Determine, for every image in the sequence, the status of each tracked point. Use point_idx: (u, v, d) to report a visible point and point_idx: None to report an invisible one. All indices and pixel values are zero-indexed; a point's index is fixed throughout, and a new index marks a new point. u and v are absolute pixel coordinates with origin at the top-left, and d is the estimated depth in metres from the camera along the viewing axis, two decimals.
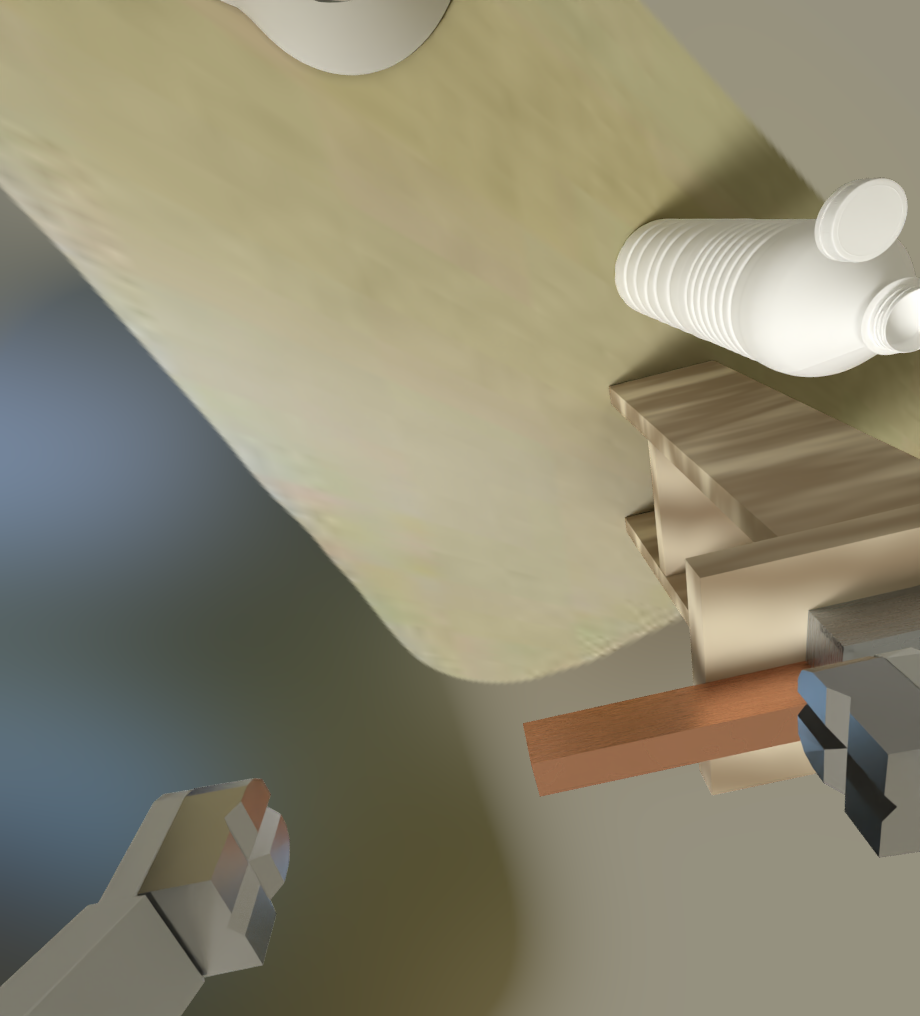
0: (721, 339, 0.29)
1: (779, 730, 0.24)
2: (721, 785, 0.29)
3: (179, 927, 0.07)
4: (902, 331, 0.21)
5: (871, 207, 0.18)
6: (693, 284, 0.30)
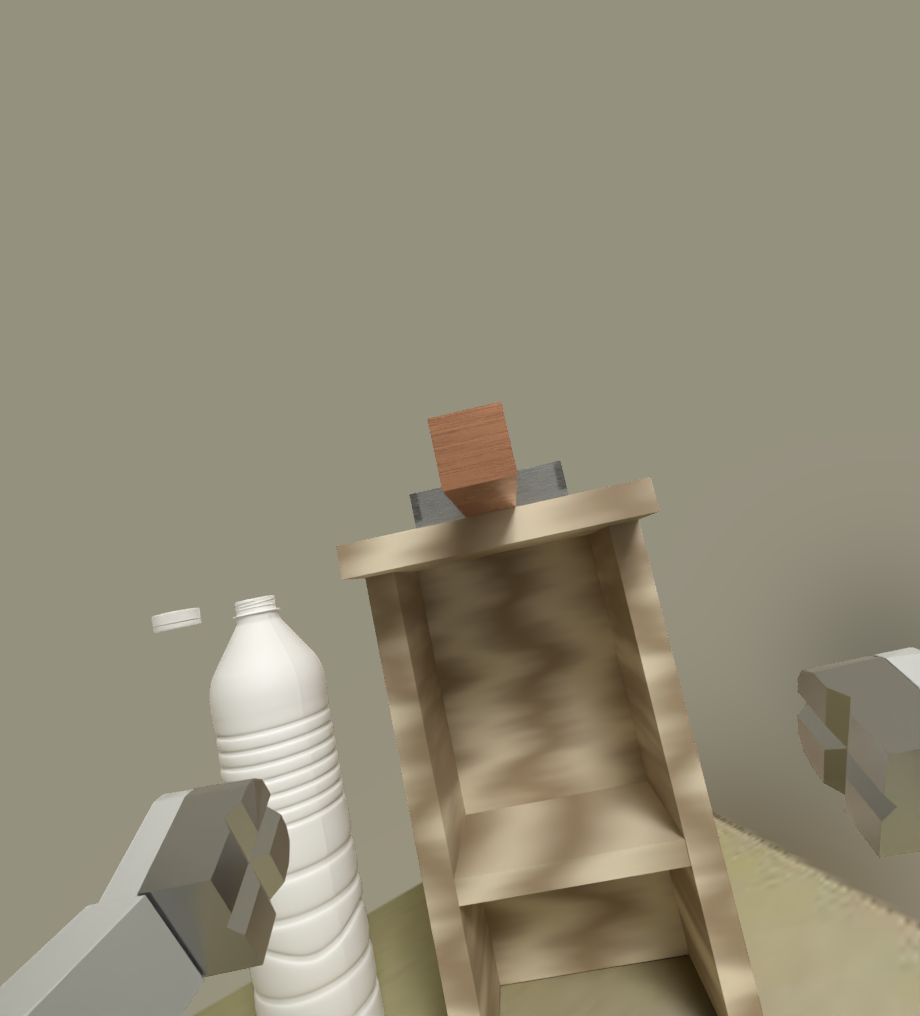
0: (288, 762, 0.30)
1: None
2: None
3: (179, 927, 0.07)
4: None
5: None
6: None
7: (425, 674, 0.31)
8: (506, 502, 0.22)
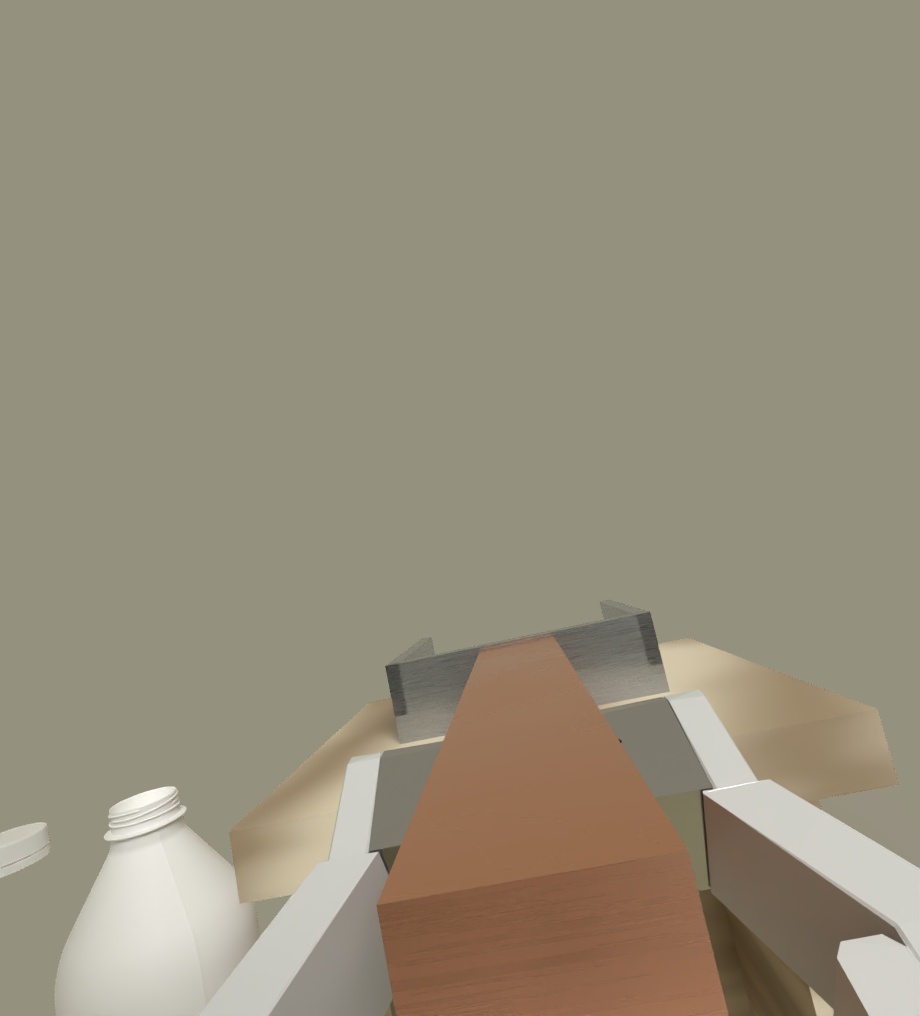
0: None
1: (523, 653, 0.14)
2: (831, 709, 0.12)
3: None
4: None
5: None
6: None
7: None
8: None
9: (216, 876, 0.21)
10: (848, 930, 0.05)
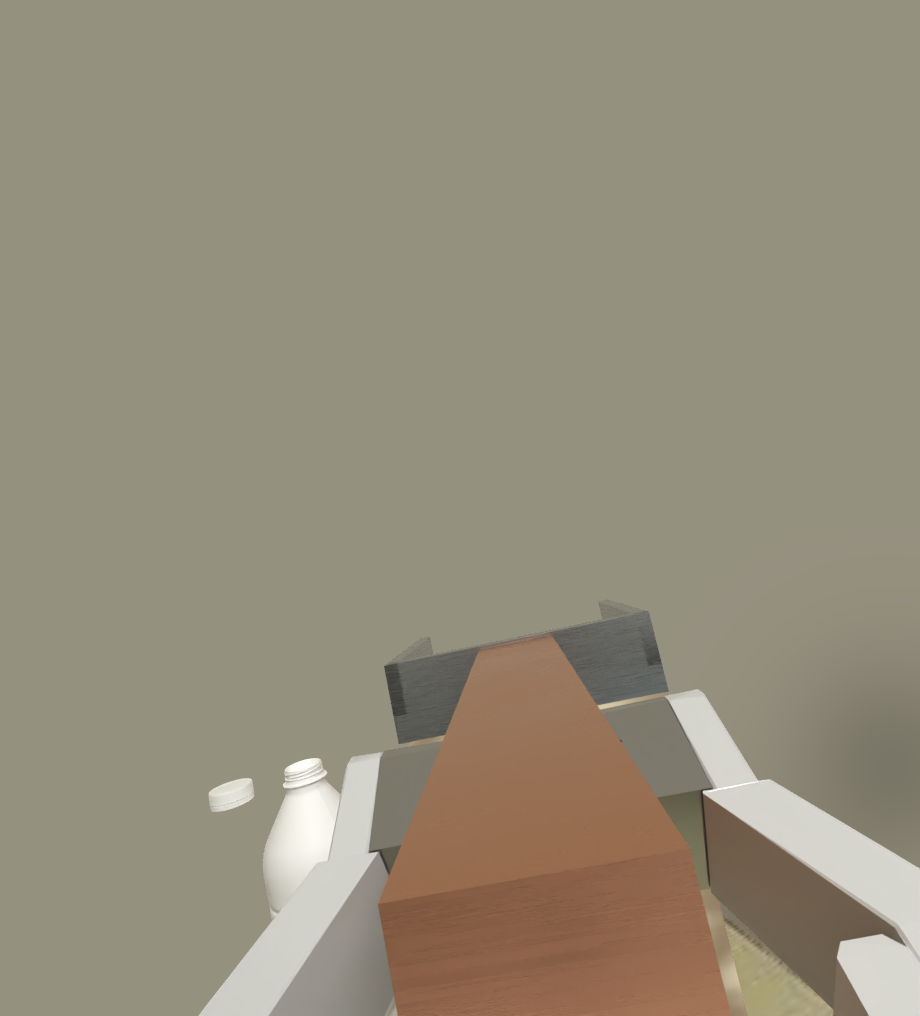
0: None
1: (522, 653, 0.14)
2: None
3: None
4: None
5: (223, 787, 0.34)
6: None
7: None
8: None
9: None
10: (848, 930, 0.05)
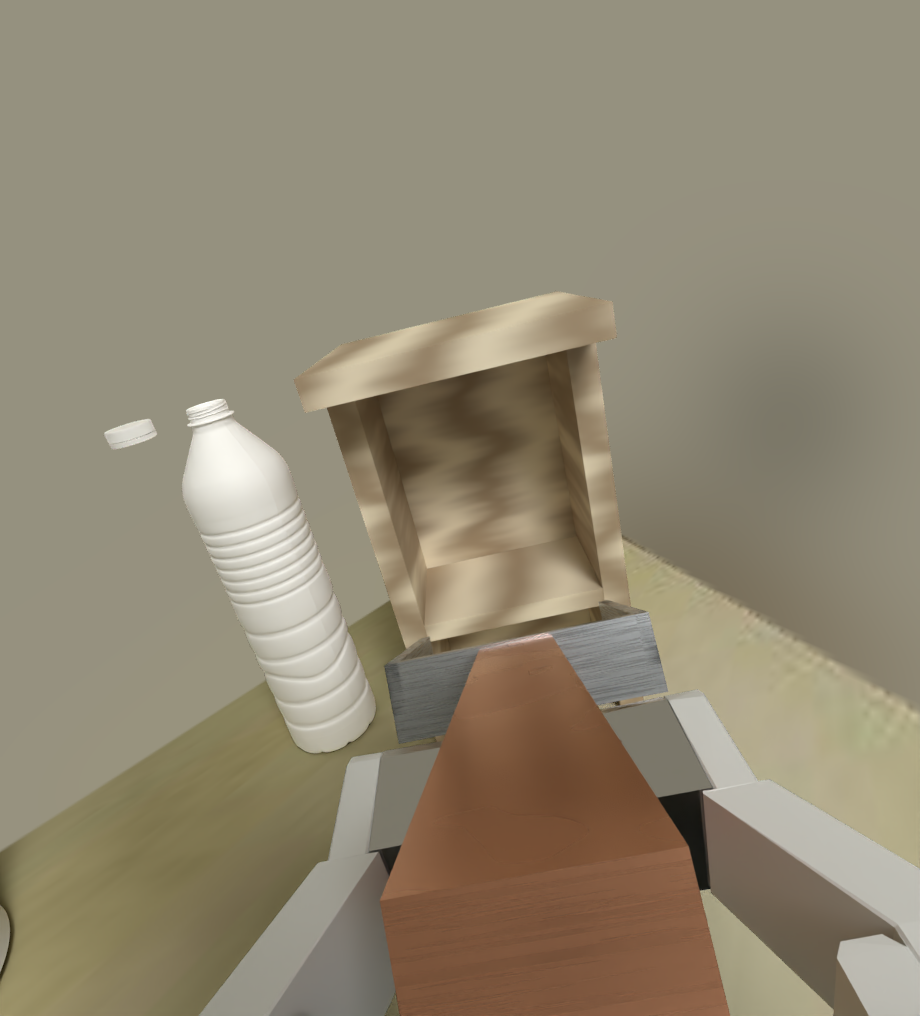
0: (273, 551, 0.34)
1: (521, 653, 0.14)
2: (594, 304, 0.24)
3: None
4: None
5: (120, 427, 0.32)
6: (246, 595, 0.35)
7: (387, 471, 0.34)
8: None
9: (263, 445, 0.35)
10: (848, 930, 0.05)
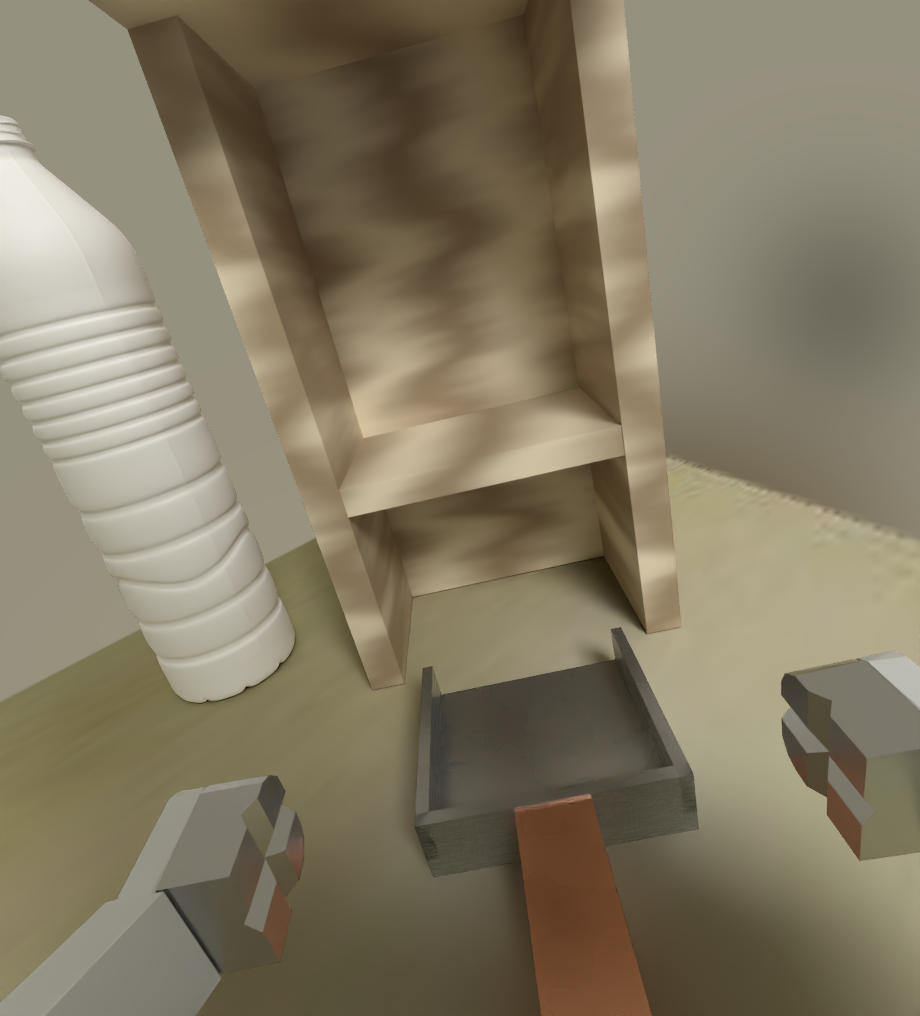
0: (98, 369, 0.22)
1: (575, 886, 0.14)
2: None
3: (196, 924, 0.07)
4: None
5: None
6: (62, 444, 0.22)
7: (277, 238, 0.21)
8: None
9: (84, 204, 0.22)
10: None
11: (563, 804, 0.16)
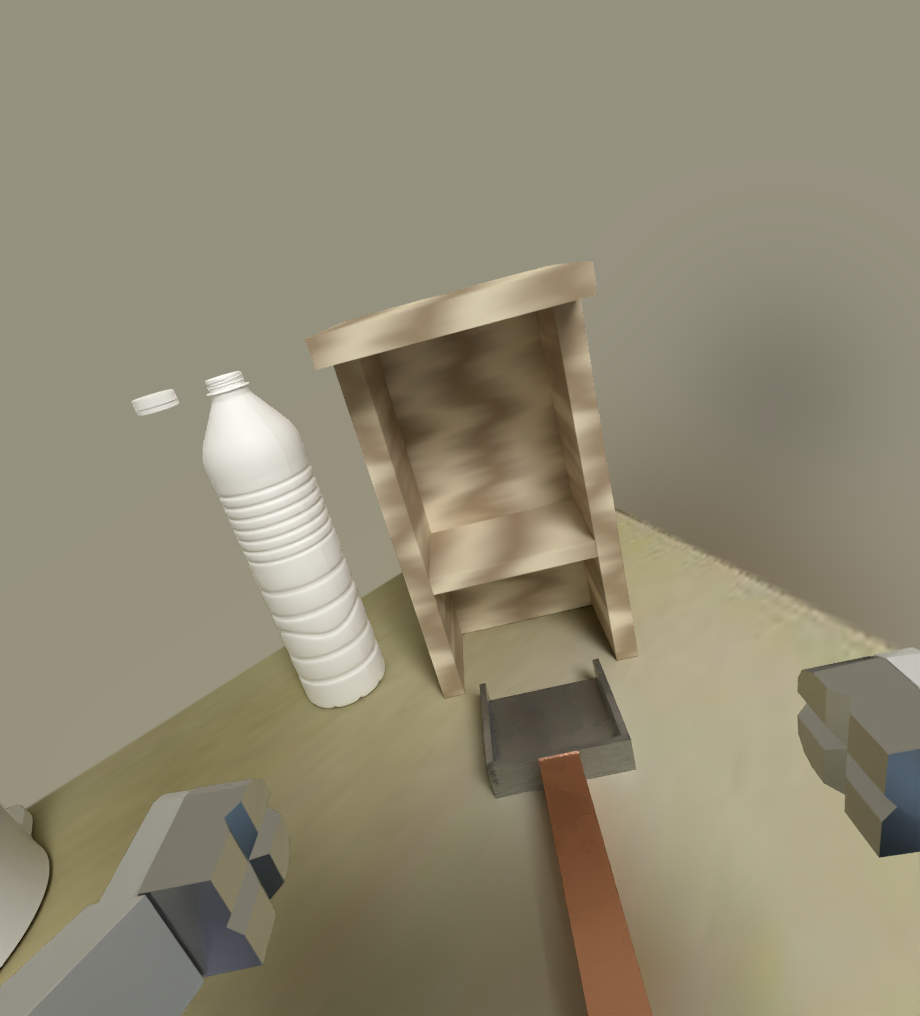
0: (287, 511, 0.37)
1: (570, 791, 0.29)
2: (576, 264, 0.27)
3: (179, 927, 0.07)
4: None
5: (145, 396, 0.34)
6: (262, 554, 0.38)
7: (392, 435, 0.36)
8: None
9: (276, 414, 0.37)
10: None
11: (564, 756, 0.31)
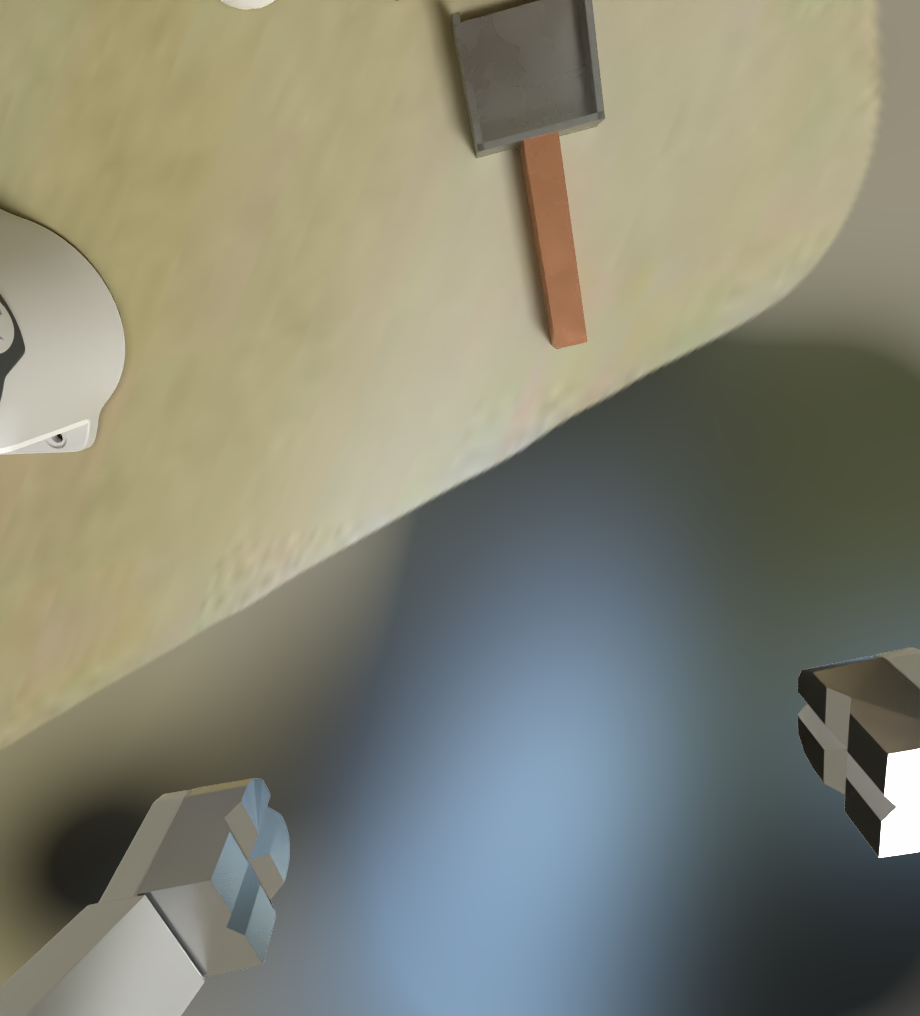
0: None
1: (549, 177, 0.36)
2: None
3: (179, 927, 0.07)
4: None
5: None
6: None
7: None
8: None
9: None
10: None
11: (545, 136, 0.35)
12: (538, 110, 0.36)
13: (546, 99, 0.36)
